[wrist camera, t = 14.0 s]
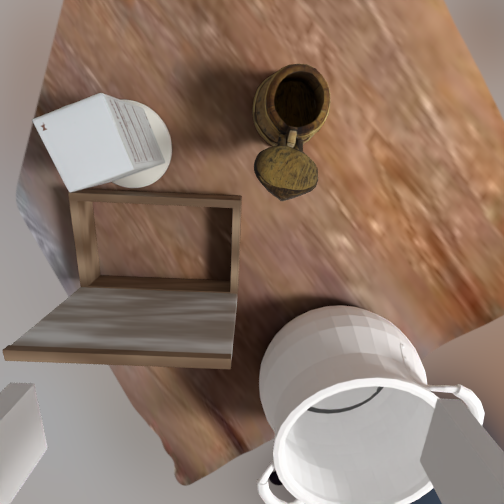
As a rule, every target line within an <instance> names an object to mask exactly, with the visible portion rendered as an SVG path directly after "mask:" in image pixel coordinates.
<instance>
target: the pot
mask: <svg viewBox="0 0 504 504" xmlns="http://www.w3.org/2000/svg"><path fill="white" fill-rule="evenodd" d="M259 390H260V399H261V403H262V406H263V410H264V412H265V416H266V418H267V421H268V423H269V424H270V426H271V428H272V429H273V431H274V432H275V439H274V445H273V456H274V458H273V460H272V462H271V463H270V464H269V466H268V467H267V468H266V470H265V471H264V472H263V474H262V476H261V478H260V479H258V480H257V488H258V493H259V495H260V496H261V498H262V499H263V501H264V502H265V503H266V504H409V503H411V502H413V501H415V500H417V499H419V498H420V497H422V496H423V495H425V494H426V493H427V492H429V491H430V490H431V489H432V488H433V485H432V483H431V482H430V480H429V478H428V476H427V474H426V472H425V470H424V468H423V466H422V465H421V463H420V457H421V454H422V450H423V447H424V443H425V440H426V436H427V433H428V429H429V426H430V422H431V419H432V415H433V412H434V408H435V405H436V401H437V399H439V398H438V397H437V396H436V395H435V394H433V393H432V392H431V391H437V392H449V393H453V394H454V395H455V396H457V397H459V398H460V399H462V400H463V401H464V402H465V404H466V405H467V406H468V409H469V411H470V412H471V413H472V414H473V416H474V417H475V418H476V419H477V420H478V422H479V423H480V424H481V425H482V424H483V419H484V414H485V413H484V410H483V407H482V404H481V401H480V400H479V399H478V398H477V397H476V395H475V394H474V393H473V392H472V390H469V389H467V388H466V387H463V386H462V385H460V384H458V385H456V386H448V385H442V386H441V385H439V386H438V385H435V386H432V385H427V379H426V373H425V370H424V367H423V365H422V363H421V360H420V358H419V356H418V354H417V351H416V349H415V348H414V346H413V345H412V344H411V342H410V341H409V340H408V338H407V337H406V336H405V335H404V334H403V333H402V332H401V330H400V329H398V328H397V327H396V326H395V325H394V324H392V323H391V322H390V321H389V320H387V319H385V318H383V317H381V316H379V315H377V314H375V313H373V312H371V311H368V310H365V309H361V308H358V307H353V306H342V305H338V306H326V307H322V308H318V309H314V310H310V311H308V312H306V313H304V314H302V315H300V316H297V317H296V318H294V319H293V320H292V321H290V322H289V323H287V324H286V325H285V326H284V327H283V328H282V329H281V330H280V331H279V332H278V333H277V334H276V335H275V337H274V338H273V340H272V341H271V343H270V344H269V346H268V348H267V350H266V352H265V355H264V357H263V360H262V363H261V368H260V375H259ZM429 390H430V391H429ZM274 467H275V469H276V472H277V474H278V477H279V479H280V481H281V482H282V483H283V485H284V486H285V488H286V489H287V490H288V491H289V492H290V493H291V494H292V495H293V496H295V497H296V498H297V499H296V500H295V501H294V502H290V503H287V502H286V501H283V500H280V499H278V498H277V497H275V496H274V495H273V494H272V492H271V491H270V489H269V485H268V481H267V480H268V478H269V476H270V474H271V472H272V471H273V469H274Z"/></svg>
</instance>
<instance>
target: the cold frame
mask: <svg viewBox="0 0 504 504" xmlns="http://www.w3.org/2000/svg"><path fill="white" fill-rule="evenodd" d="M68 196H69V204H70V211H71V218H72V226H73V233H74V241H75V248H76V256H77V263H78V271H79V278H80V285H81V287H80V288H79V289H78V290H77V291H76V292H74V293H73V294H72V295H71V296H70V297H68V298H67V299H66V300H65V301H64V302H63V303H61V304H60V305H59V306H58V307H56V308H55V309H54V310H53V311H52V312H50V313H49V314H48V315H47V316H46V317H44V318H43V319H42V320H41V321H40V322H39V323H37V324H36V325H35V326H34V327H32V328H31V329H30V330H29V331H28V332H26V333H25V334H24V335H23V336H21V337H20V338H19V339H18V340H17V341H15V342H14V343H13V344H12V345H8V346H7V347H6V348H5V349H3V355H4V359H5V360H6V361H28V362H55V363H81V364H106V365H132V366H158V367H184V368H210V369H231V360H232V349H233V339H234V328H235V317H236V307H237V296H238V283H239V256H240V228H241V201H242V196H231V195H209V194H188V193H167V192H145V191H124V190H102V189H81V190H78V191H74V192H69V193H68ZM92 202H112V203H134V204H156V205H177V206H199V207H221V208H233V217H232V253H231V281H223V280H199V279H176V278H152V277H129V276H105V275H100V266H99V257H98V248H97V239H96V230H95V221H94V212H93V203H92Z"/></svg>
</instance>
